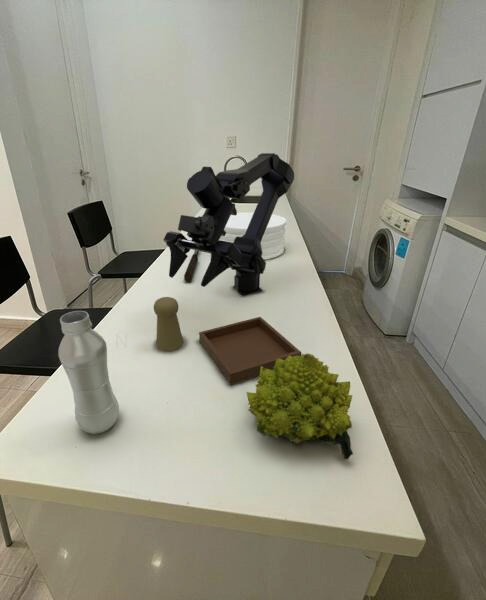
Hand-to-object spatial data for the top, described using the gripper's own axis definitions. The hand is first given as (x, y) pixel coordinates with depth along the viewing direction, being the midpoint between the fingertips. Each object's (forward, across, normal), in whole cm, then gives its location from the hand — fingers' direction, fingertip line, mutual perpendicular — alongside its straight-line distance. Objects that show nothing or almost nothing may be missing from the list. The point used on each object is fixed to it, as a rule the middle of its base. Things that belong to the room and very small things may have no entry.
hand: (185, 281), depth 73 cm
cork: (+14, 0, +4) cm, 15 cm away
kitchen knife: (-19, -27, +33) cm, 47 cm away
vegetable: (+17, +32, +1) cm, 36 cm away
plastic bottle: (+30, +6, -12) cm, 33 cm away
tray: (+9, +16, +9) cm, 20 cm away
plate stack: (-33, -19, +51) cm, 63 cm away
